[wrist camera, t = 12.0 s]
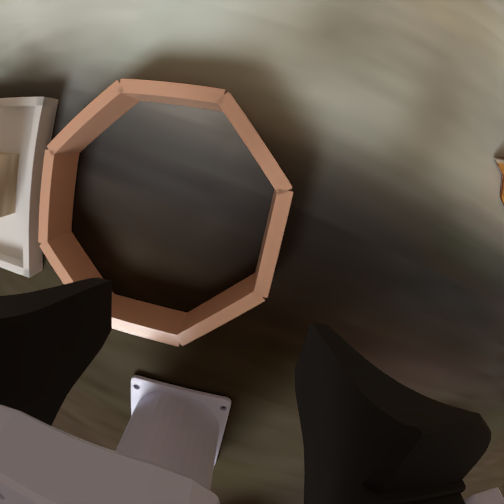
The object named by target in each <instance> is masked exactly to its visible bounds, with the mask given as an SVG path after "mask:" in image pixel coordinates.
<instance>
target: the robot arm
mask: <svg viewBox="0 0 504 504" xmlns="http://www.w3.org/2000/svg"><path fill="white" fill-rule="evenodd" d="M111 329H112V281H110V280H107V279H103V278H99V277H96V278H89V279H84V280H80V281H76V282H72V283H68V284H64V285H60V286H57V287H52V288H48V289H43V290H39V291H35V292H29V293H23V294H16V295H7V296H0V504H220V502H219V499H218V496H217V495H215V494H214V493H213V492H212V491H210V487H211V481H212V474H213V468H214V465H215V464H216V460H217V456H218V453H219V449H220V445H221V441H222V438H223V434H224V430H225V426H226V422H227V418H228V415H229V411H230V407H231V399H230V398H228V397H224V396H219V395H215V394H210V393H205V392H201V391H196V390H192V389H188V388H184V387H180V386H176V385H172V384H168V383H164V382H160V381H157V380H153V379H149V378H146V377H142V376H139V375H134V376H133V377H132V378H131V418H130V420H129V422H128V425H127V427H126V429H125V431H124V433H123V435H122V438H121V440H120V442H119V444H118V446H117V449H116V451H113V450H110V449H107V448H104V447H101V446H99V445H96V444H93V443H91V442H88V441H85V440H83V439H80V438H78V437H75V436H73V435H71V434H68V433H66V432H64V431H61V430H59V429H57V428H55V427H52V426H51V425H52V423H53V421H54V419H55V417H56V415H57V413H58V411H59V409H60V407H61V405H62V403H63V401H64V399H65V398H66V396H67V394H68V393H69V391H70V390H71V388H72V387H73V385H74V384H75V383H76V381H77V380H78V379H79V377H80V376H81V375H82V373H83V372H84V371H85V369H86V368H87V367H88V365H89V364H90V363H91V361H92V360H93V359H94V357H95V356H96V355H97V353H98V352H99V351H100V349H101V348H102V346H103V344H104V342H105V341H106V339H107V337H108V335H109V333H110V331H111ZM136 385H138V386H136ZM295 391H296V398H297V404H298V411H299V417H300V423H301V429H302V435H303V443H304V465H305V481H304V504H504V498H503V496H502V494H501V492H500V490H499V489H498V488H493V489H490V490H487V491H484V492H481V493H478V494H475V495H472V496H470V497H469V498H467V499H465V500H463V498H462V495H461V492H463V491H464V490H465V487H466V486H465V484H464V482H463V480H462V479H463V478H464V477H465V476H466V474H467V473H468V472H469V471H470V470H471V469H472V468H473V467H474V465H475V464H476V463H477V462H478V461H479V459H480V458H481V457H482V456H483V454H484V453H485V451H486V450H487V448H488V445H489V443H490V440H491V431H490V429H489V427H488V426H487V424H486V423H485V421H484V420H483V418H482V417H481V415H480V414H478V413H475V412H471V411H467V410H463V409H460V408H456V407H452V406H449V405H446V404H444V403H441V402H438V401H436V400H433V399H431V398H428V397H426V396H424V395H422V394H420V393H418V392H416V391H414V390H412V389H410V388H408V387H406V386H404V385H402V384H401V383H399V382H397V381H396V380H394V379H393V378H391V377H389V376H388V375H386V374H385V373H383V372H382V371H381V370H379V369H378V368H376V367H375V366H374V365H373V364H371V363H370V362H369V361H368V360H366V359H365V358H364V357H363V356H362V355H360V354H359V353H358V352H357V351H356V350H355V349H354V348H353V347H351V346H350V345H349V344H348V343H347V342H346V341H345V340H344V339H343V338H342V337H341V336H339V335H338V334H337V333H336V332H335V331H334V330H333V329H332V328H330V327H329V326H327V325H324V324H318V323H311V322H310V325H309V328H308V331H307V334H306V337H305V341H304V344H303V347H302V350H301V353H300V356H299V359H298V362H297V365H296V368H295ZM221 406H225V408H223V407H221Z"/></svg>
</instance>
